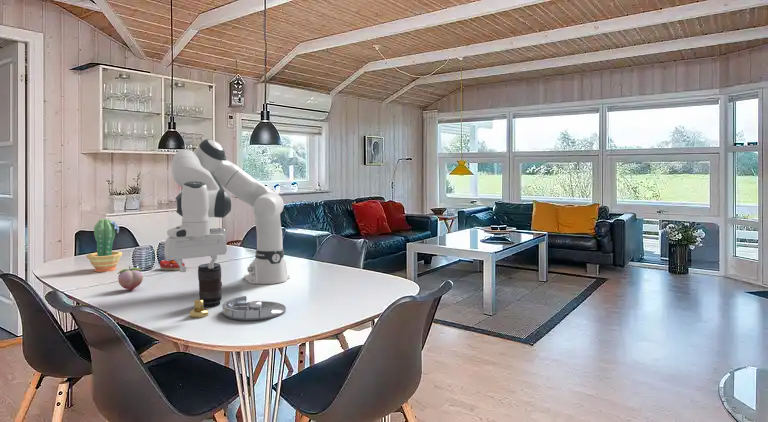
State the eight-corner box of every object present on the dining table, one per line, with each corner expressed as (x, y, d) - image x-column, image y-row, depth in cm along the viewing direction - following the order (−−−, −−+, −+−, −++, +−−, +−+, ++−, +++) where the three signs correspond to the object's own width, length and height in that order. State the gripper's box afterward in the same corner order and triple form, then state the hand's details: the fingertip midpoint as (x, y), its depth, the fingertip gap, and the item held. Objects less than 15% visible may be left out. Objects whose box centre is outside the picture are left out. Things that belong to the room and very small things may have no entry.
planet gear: (187, 315, 176) (186, 299, 176) (204, 312, 180) (204, 297, 179) (193, 319, 172) (192, 303, 171) (210, 316, 175) (210, 300, 175)
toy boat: (165, 267, 257) (164, 252, 256) (187, 268, 255) (186, 253, 255) (156, 270, 249) (156, 255, 249) (179, 271, 248) (178, 256, 247)
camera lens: (202, 302, 193) (201, 262, 192) (224, 301, 194) (223, 262, 192) (196, 308, 185) (195, 267, 183) (219, 307, 186) (218, 266, 184)
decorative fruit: (138, 286, 217) (137, 263, 216) (146, 289, 211) (145, 266, 210) (114, 290, 210) (113, 266, 209) (121, 293, 204) (120, 269, 204)
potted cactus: (112, 273, 242) (110, 221, 240) (80, 273, 243) (77, 221, 240) (129, 266, 258) (127, 217, 256) (98, 266, 258) (96, 217, 256)
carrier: (213, 310, 182) (212, 301, 181) (268, 300, 195) (268, 291, 195) (238, 325, 165) (237, 315, 164) (297, 313, 178) (297, 304, 178)
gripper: (222, 226, 182) (223, 265, 183) (162, 231, 169) (163, 272, 170) (229, 228, 177) (230, 267, 178) (167, 233, 164) (169, 275, 166)
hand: (197, 270), depth 174 cm, fingers open, 8 cm apart
